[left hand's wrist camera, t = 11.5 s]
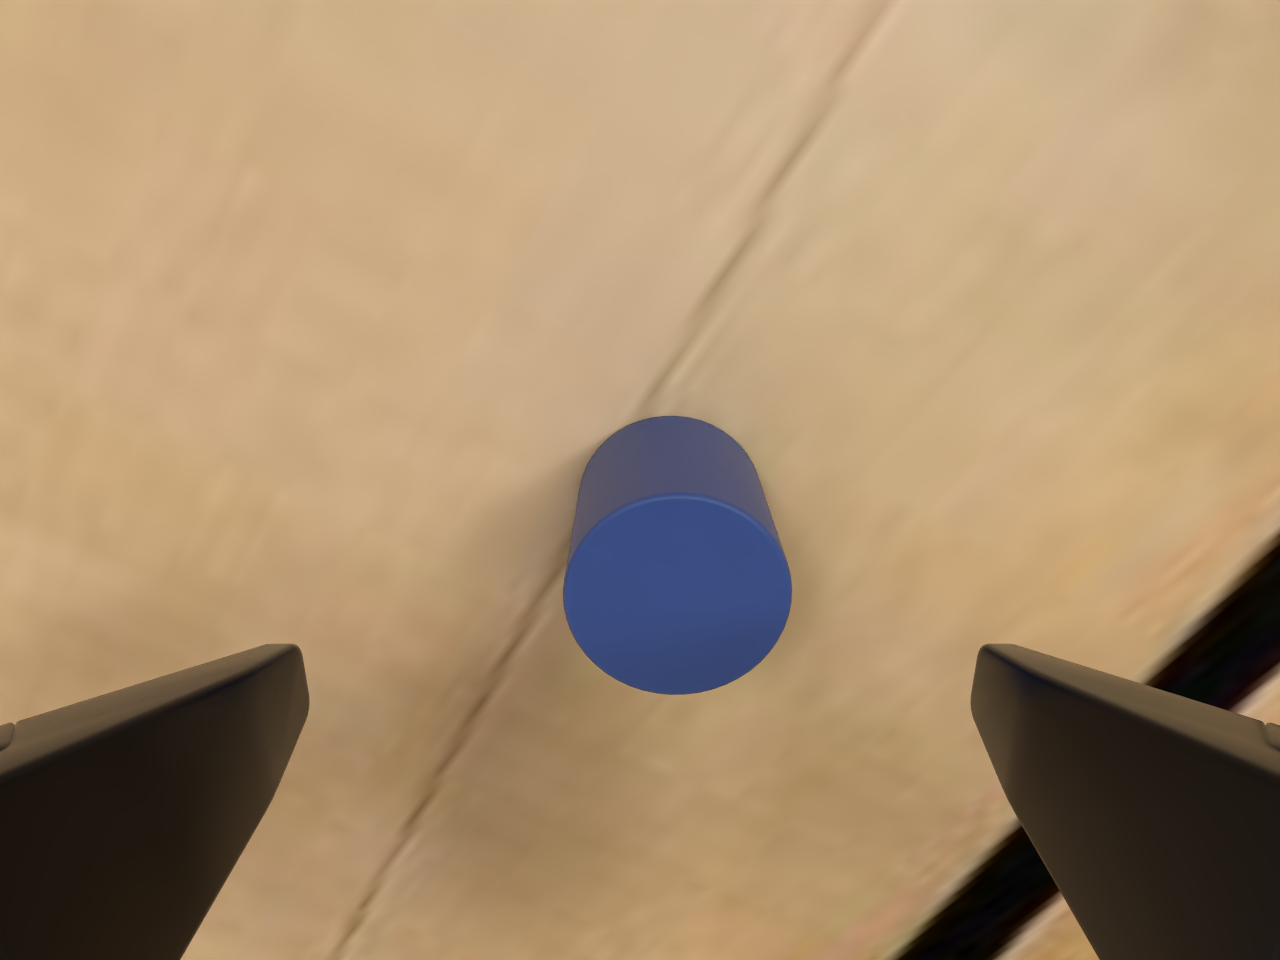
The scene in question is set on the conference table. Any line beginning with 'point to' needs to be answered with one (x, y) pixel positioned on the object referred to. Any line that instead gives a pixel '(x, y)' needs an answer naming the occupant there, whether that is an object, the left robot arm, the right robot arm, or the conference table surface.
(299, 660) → the left robot arm
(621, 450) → the cylinder
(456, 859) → the conference table surface
